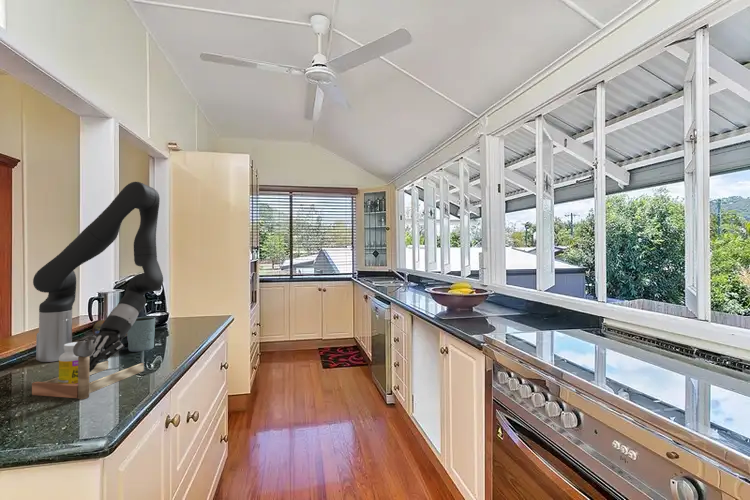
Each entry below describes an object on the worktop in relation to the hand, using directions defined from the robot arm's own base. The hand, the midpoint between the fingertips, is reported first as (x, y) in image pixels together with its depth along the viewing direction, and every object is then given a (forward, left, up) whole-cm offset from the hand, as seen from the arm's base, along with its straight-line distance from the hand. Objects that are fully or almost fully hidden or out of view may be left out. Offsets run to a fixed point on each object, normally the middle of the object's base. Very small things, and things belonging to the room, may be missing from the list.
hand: (86, 370), depth 113 cm
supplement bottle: (0, -4, -4) cm, 6 cm away
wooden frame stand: (+2, +2, -4) cm, 5 cm away
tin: (-41, +53, -4) cm, 67 cm away
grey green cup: (-15, +39, -4) cm, 42 cm away
